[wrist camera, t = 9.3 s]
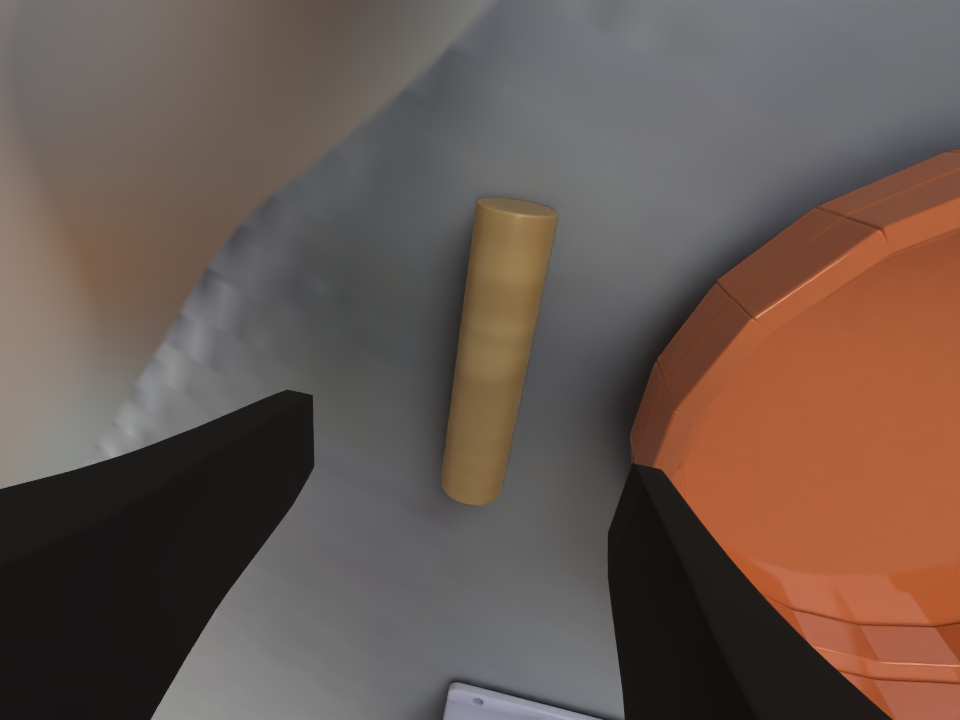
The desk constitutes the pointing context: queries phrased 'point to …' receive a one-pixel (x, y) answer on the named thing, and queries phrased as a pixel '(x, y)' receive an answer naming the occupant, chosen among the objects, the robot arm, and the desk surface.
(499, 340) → the cylinder
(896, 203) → the bowl
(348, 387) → the desk surface
